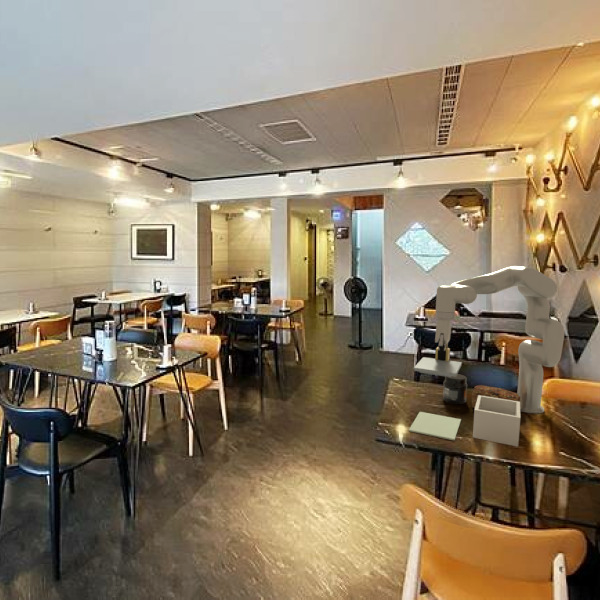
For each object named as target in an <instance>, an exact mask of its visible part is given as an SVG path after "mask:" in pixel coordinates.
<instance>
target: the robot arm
mask: <svg viewBox="0 0 600 600" xmlns="http://www.w3.org/2000/svg"><path fill="white" fill-rule="evenodd" d="M512 287H517V289H518V291H519V293H520V294H521V295H522V296H523V297H524V299H525V301H526V302H527V313H526V319H525V327H524V330H525V334H526V335H527V336H529V337H532V338H535V339H538V340H542V341H538V340H535V339H525V340H523V341H522V342H520V344H519V346H518V351H517V354H518V363H519V365H518V366H519V371H518V381H517V382H518V383H517V392H516V393H517V394H518V395H519V396H520V412H523V413H526V414H535V415H536V414H543V413H544V412H545V408H544V407H543V406H542V404H541V403H542V395H543V394H542V393H543V381H544V368H543V366H544V367H548V368H553V367H555V366H557V365H558V364H559V362H560V360H561V358H562V353H563V347H564V340H565V328H564V326H563V324H562V322H561V321H559V320H556V319H552V318H550V310H551V304H550V301H549V299H551V298H553V297H554V296H555V295H556V294H557V292H558V286H557V283H556V281H555V280H554V279H553V278H551V277H549V276H548V275H546V274H544V273H543V272H541V271H539V270H538V269H535V268H534V267H530V266H521V265H520V266H519V265H511V266H507V267H504V268H502V269H499V270H497V271H494V272H491V273H487V274H484V275H478V276H475V277H471V278H466V279H463V280H459V281H456V282H453V283H451V284H450V285H439V286H437V288H436V298H435V299H436V301H435V317H434V319H436V327H435V338H434V343H436V344H437V343H438V346H437V347H438V358H437V359H438V360H444V361H445V360H446V351H445V350H446V348H449V347H448V345H449V342H450V340H451V333H452V321H455V319H456V318H455V314H456V313H455V312H456V304H462V305H469V304H473V302H475V301H476V300H477V297H478V295H492V294H496V293H499V292H502V291H504V290H508V289H510V288H512Z"/></svg>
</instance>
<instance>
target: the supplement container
mask: <svg viewBox="0 0 600 600" xmlns="http://www.w3.org/2000/svg"><path fill="white" fill-rule="evenodd" d="M467 388H468V384H467V377H466V376H465V375H463V374H460V373H459V374H458V373H457V375H456V377H454V376H451V377H446V376H444V381H443V391H442V392H443V393H442V399H443V400H444V401H445V402H446V403H449V404H454V405H462V404H465V403H466V402H467V390H468V389H467Z"/></svg>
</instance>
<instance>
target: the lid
mask: <svg viewBox="0 0 600 600" xmlns="http://www.w3.org/2000/svg"><path fill="white" fill-rule="evenodd" d="M438 347H439V346H437V347H436V348H435V358H433V357H425V356H423V357H422V358H421V359H420V360H419V361H418V362H417V364H415V366H414V367H413V371H414V372H419V373H420V374H426V375H427V374H429V375H433V376H441V377H445V376H446V377H451V376H454V377H456V375H457V374H458V373H459V371H460V369H461V367H462V365H463V363H462V361H454V360H450V354H451V353H450V352H451V348H449V347H448V348H446V350H445V351H446V360H445V361H444V360H438V359H437V358H438Z"/></svg>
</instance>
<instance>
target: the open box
mask: <svg viewBox="0 0 600 600" xmlns="http://www.w3.org/2000/svg"><path fill="white" fill-rule="evenodd" d="M520 427H521V411H520V402H519V401H512V400H506V399H500V398H493V397H487V396H481V395H478V398H477V402H476V406H475V408H474V412H473V427H472V438H473V439H480V440H484V441H489V442H494V443H499V444H503V445H509V446H513V447H519V442H520V430H521V429H520Z"/></svg>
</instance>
